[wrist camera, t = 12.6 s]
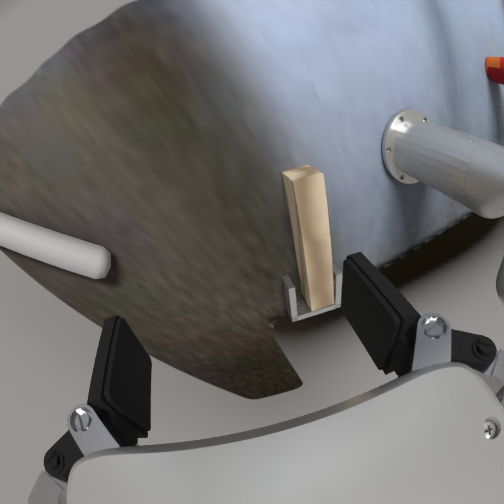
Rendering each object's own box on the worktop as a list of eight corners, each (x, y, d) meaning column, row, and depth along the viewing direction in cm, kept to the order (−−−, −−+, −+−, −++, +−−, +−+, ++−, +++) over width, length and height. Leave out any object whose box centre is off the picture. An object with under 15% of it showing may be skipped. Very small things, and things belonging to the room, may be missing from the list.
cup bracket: (332, 261, 45) (341, 273, 42) (332, 294, 49) (340, 306, 46) (282, 275, 44) (288, 289, 41) (286, 308, 48) (292, 322, 45)
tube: (112, 252, 32) (-25, 205, 23) (104, 290, 33) (-30, 240, 23) (117, 244, 37) (-9, 203, 28) (109, 278, 38) (-14, 234, 28)
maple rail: (307, 164, 36) (323, 173, 32) (322, 285, 48) (334, 303, 44) (280, 171, 36) (292, 181, 31) (301, 292, 48) (311, 311, 43)
